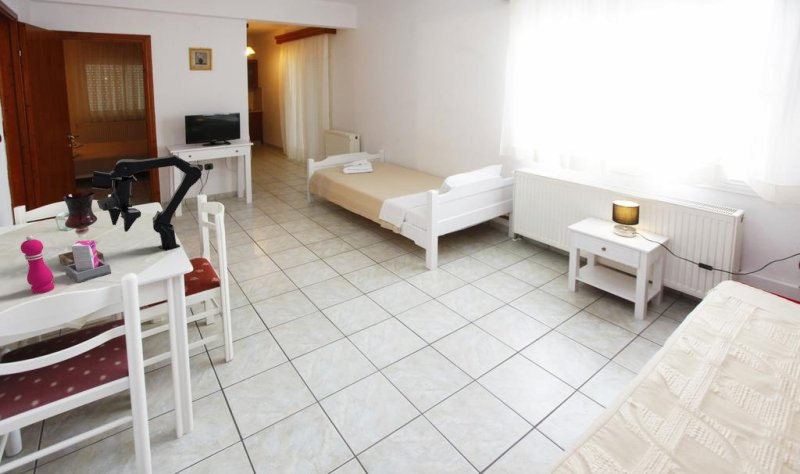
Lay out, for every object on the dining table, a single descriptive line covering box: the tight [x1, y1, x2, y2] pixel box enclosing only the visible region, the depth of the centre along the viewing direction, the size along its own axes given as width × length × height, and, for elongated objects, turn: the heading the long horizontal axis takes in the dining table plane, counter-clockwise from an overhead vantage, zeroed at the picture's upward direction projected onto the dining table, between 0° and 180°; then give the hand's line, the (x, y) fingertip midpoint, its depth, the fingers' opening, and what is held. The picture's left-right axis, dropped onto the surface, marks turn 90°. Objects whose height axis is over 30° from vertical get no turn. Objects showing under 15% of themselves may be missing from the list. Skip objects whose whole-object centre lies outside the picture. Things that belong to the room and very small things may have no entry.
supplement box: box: [71, 240, 99, 273], centre depth 170 cm, size 6×6×12 cm
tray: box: [63, 259, 112, 284], centre depth 172 cm, size 11×11×4 cm
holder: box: [57, 249, 105, 267], centre depth 182 cm, size 11×11×4 cm
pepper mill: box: [20, 235, 55, 295], centre depth 156 cm, size 7×7×20 cm
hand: (120, 228), depth 188 cm, fingers open, 9 cm apart
